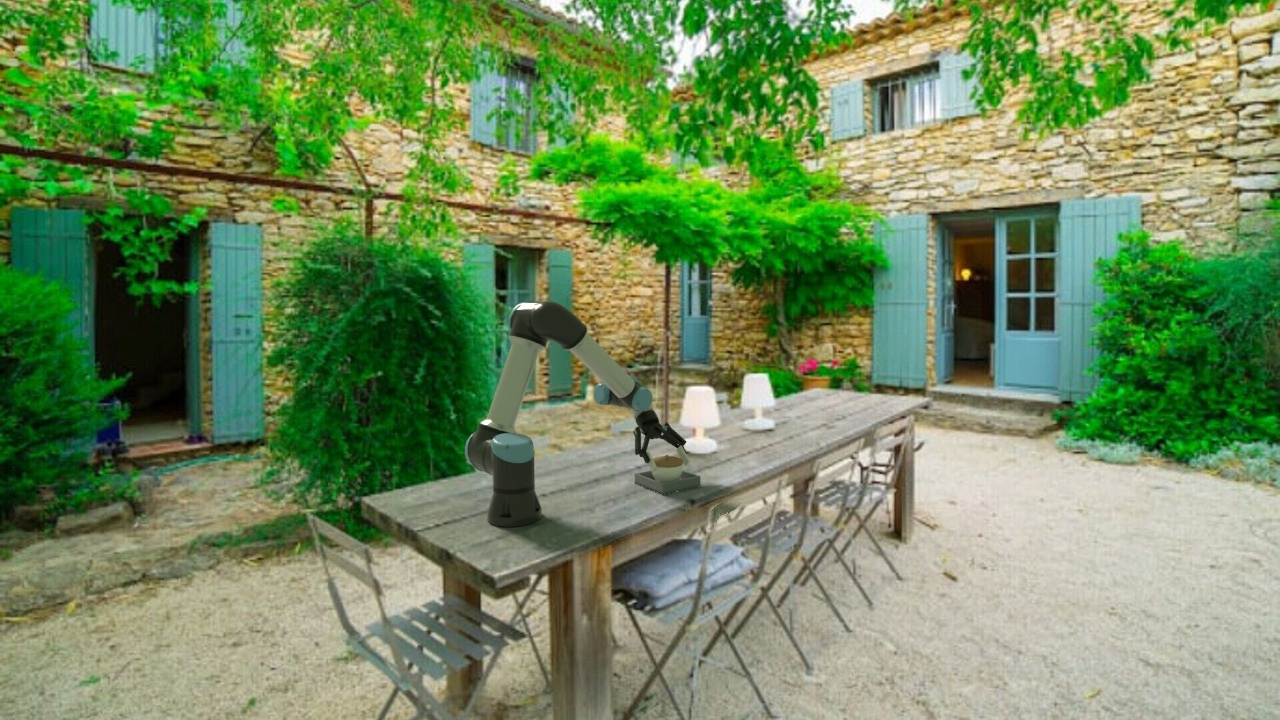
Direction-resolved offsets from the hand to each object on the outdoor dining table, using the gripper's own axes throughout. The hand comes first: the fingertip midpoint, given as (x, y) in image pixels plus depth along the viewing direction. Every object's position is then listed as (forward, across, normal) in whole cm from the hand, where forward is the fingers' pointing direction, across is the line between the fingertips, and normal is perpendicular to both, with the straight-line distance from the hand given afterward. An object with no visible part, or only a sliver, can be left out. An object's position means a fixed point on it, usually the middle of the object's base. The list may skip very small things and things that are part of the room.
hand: (671, 467), depth 205 cm
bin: (+3, 0, -6) cm, 7 cm away
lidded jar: (+3, 0, -6) cm, 7 cm away
